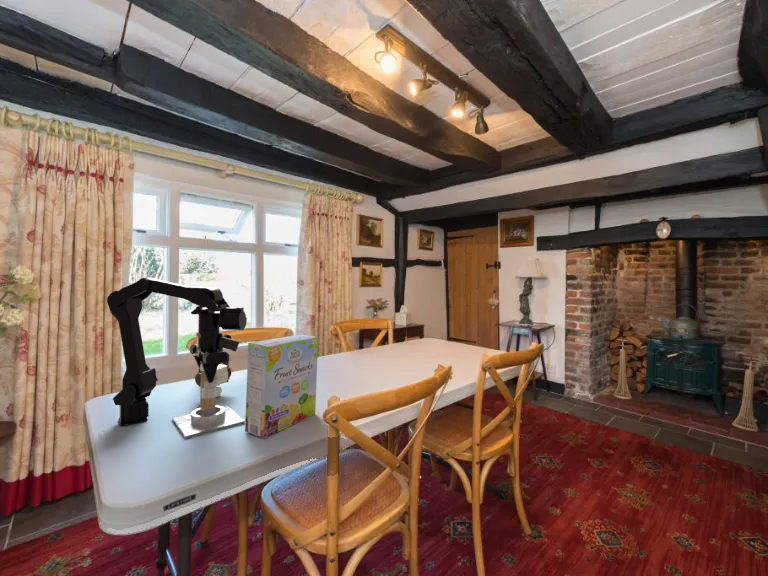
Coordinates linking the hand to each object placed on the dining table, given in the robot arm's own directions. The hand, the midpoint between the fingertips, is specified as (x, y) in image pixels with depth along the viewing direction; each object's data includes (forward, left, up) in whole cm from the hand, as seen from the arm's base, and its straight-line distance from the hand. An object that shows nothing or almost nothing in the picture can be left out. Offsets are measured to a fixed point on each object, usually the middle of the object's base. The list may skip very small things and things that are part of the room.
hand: (208, 380), depth 105 cm
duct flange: (0, 0, -13) cm, 13 cm away
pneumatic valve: (+8, +22, -13) cm, 27 cm away
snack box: (+17, -15, -13) cm, 26 cm away
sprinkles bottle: (0, 0, -8) cm, 8 cm away
